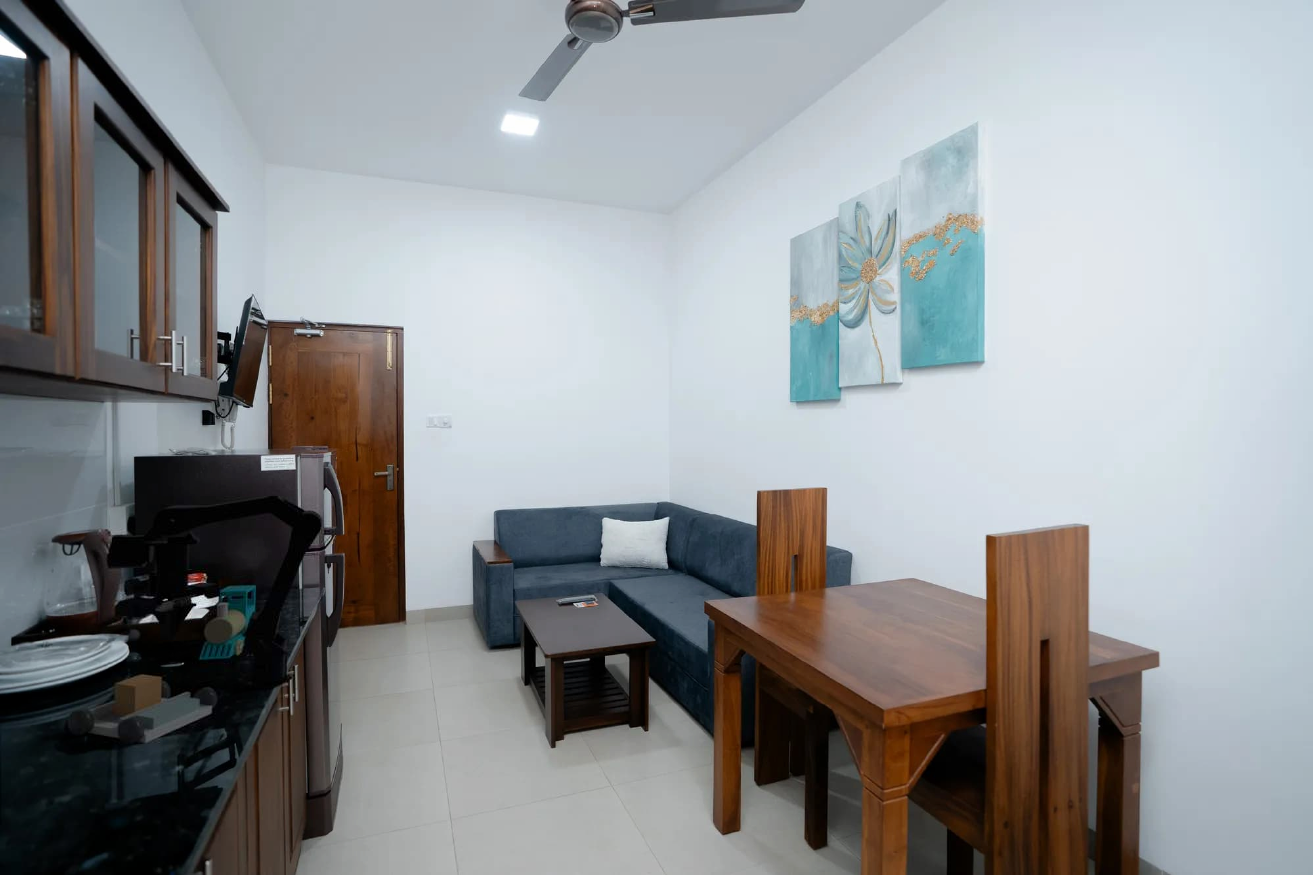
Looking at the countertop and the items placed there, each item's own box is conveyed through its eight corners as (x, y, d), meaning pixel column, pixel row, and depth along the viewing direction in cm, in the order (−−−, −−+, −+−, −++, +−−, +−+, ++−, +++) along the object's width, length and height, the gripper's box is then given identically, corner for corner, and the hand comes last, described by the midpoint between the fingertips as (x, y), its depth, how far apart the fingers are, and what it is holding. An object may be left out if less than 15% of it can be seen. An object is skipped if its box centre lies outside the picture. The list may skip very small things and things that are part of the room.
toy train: (195, 663, 154) (196, 601, 154) (224, 642, 170) (225, 586, 170) (232, 661, 156) (233, 600, 156) (257, 640, 172) (258, 585, 172)
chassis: (152, 700, 133) (153, 678, 133) (218, 710, 129) (218, 688, 129) (66, 733, 118) (66, 709, 118) (137, 746, 113) (138, 721, 113)
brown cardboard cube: (141, 704, 127) (141, 674, 127) (160, 707, 126) (161, 677, 126) (114, 714, 122) (115, 683, 122) (134, 718, 121) (135, 686, 121)
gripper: (184, 555, 146) (182, 623, 146) (95, 571, 128) (92, 649, 128) (223, 559, 144) (221, 628, 143) (137, 575, 125) (135, 654, 125)
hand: (169, 639), depth 135 cm, fingers closed
